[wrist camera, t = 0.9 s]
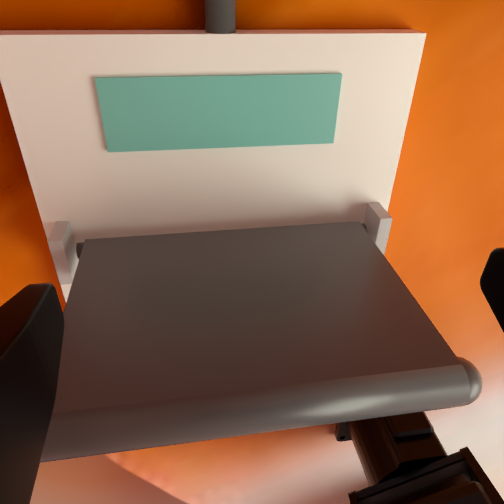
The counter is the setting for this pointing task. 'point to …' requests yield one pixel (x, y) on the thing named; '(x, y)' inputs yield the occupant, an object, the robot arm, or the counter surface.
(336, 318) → the lever
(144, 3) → the counter surface
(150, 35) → the switch plate
